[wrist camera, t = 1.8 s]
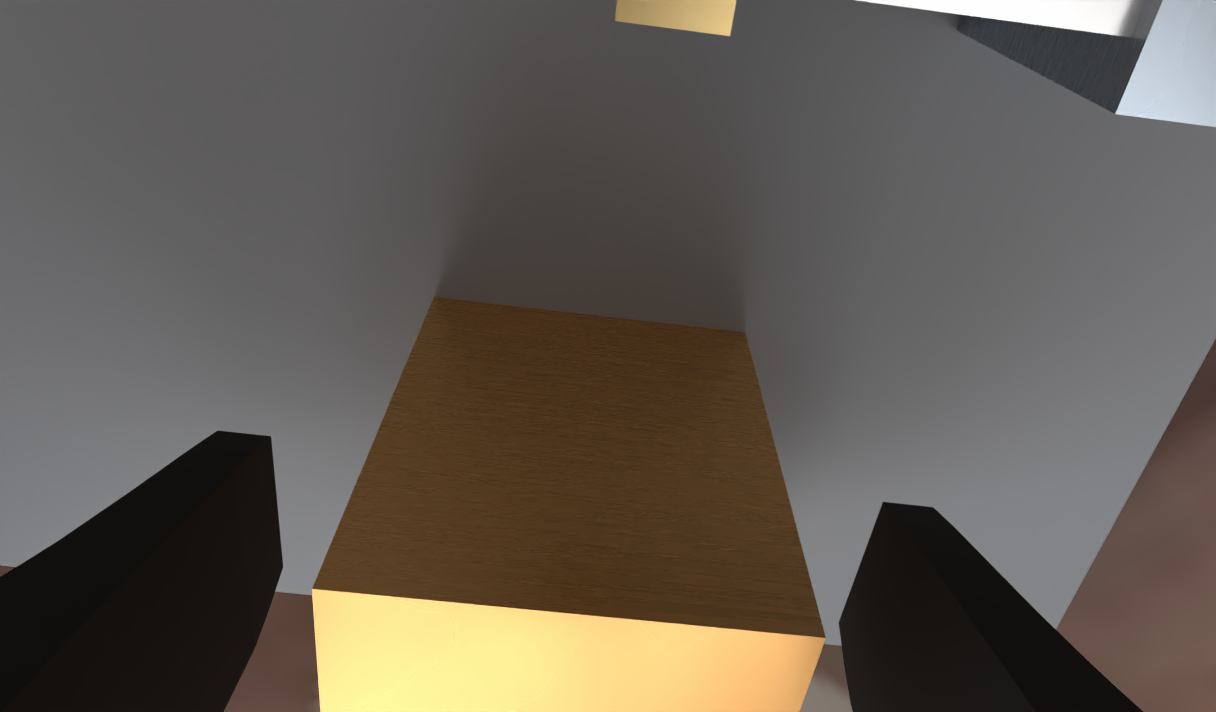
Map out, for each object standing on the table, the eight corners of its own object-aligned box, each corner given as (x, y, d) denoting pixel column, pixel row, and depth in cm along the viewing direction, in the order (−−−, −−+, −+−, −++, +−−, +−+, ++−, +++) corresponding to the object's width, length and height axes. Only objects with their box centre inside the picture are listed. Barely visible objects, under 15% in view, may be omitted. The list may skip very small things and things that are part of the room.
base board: (1001, 595, 15) (1036, 664, 14) (-280, 468, 14) (-370, 530, 13) (1655, -735, 7) (1872, -856, 6) (-1150, -1266, 6) (-1609, -1557, 5)
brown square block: (692, 561, 13) (728, 909, 9) (428, 534, 13) (331, 878, 9) (745, 332, 11) (825, 638, 7) (434, 297, 11) (311, 589, 7)
